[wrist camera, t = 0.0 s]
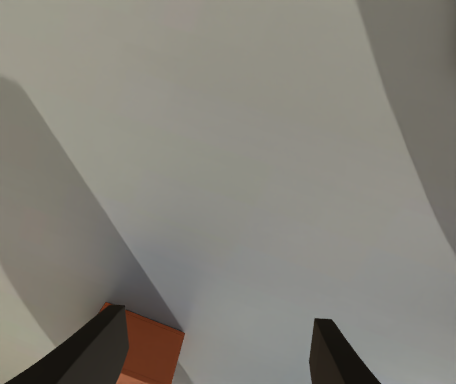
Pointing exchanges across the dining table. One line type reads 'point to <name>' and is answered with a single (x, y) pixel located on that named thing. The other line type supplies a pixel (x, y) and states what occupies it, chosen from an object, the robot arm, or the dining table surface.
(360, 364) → the robot arm
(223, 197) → the dining table surface
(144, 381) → the orange open-ended box
